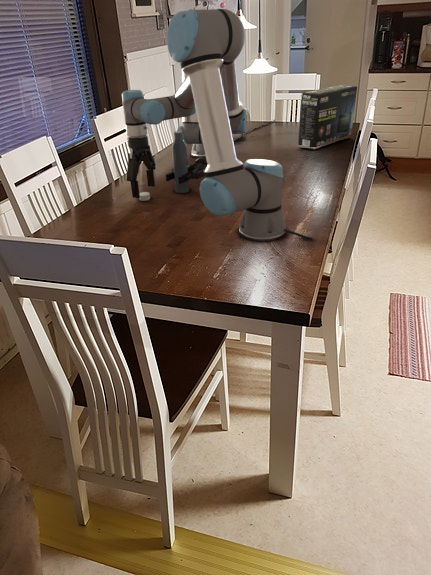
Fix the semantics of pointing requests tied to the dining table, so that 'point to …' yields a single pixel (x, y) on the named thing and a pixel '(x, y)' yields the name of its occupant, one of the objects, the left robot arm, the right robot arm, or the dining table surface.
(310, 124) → the router box
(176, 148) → the bottle
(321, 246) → the dining table surface
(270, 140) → the dining table surface
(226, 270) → the dining table surface
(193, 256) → the dining table surface
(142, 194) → the cap
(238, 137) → the fossil
